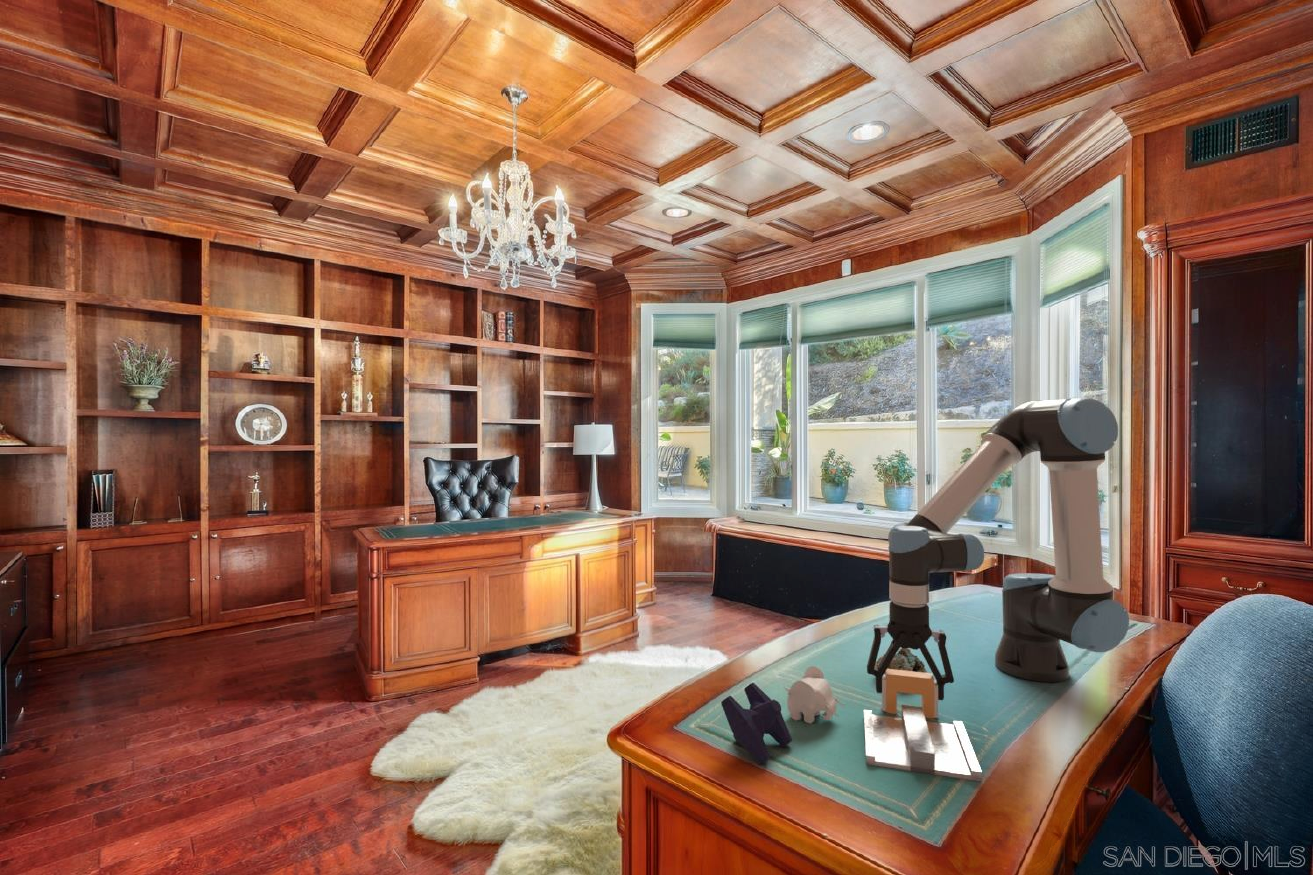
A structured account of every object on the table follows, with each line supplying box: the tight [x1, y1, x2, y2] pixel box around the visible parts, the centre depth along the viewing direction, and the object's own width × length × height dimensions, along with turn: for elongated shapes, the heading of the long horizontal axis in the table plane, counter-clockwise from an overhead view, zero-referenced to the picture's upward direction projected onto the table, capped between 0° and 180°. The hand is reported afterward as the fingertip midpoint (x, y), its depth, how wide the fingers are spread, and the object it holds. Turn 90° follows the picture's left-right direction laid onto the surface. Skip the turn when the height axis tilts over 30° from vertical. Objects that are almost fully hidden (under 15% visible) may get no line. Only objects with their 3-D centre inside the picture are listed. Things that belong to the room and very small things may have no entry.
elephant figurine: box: [782, 665, 845, 724], centre depth 122 cm, size 10×12×9 cm
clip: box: [884, 669, 935, 719], centre depth 124 cm, size 9×3×8 cm, turn 72°
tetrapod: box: [720, 682, 793, 765], centre depth 110 cm, size 11×12×11 cm
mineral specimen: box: [875, 647, 928, 675], centre depth 141 cm, size 12×9×8 cm
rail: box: [863, 704, 983, 782], centre depth 110 cm, size 18×18×4 cm
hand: (909, 711), depth 124 cm, fingers open, 9 cm apart
